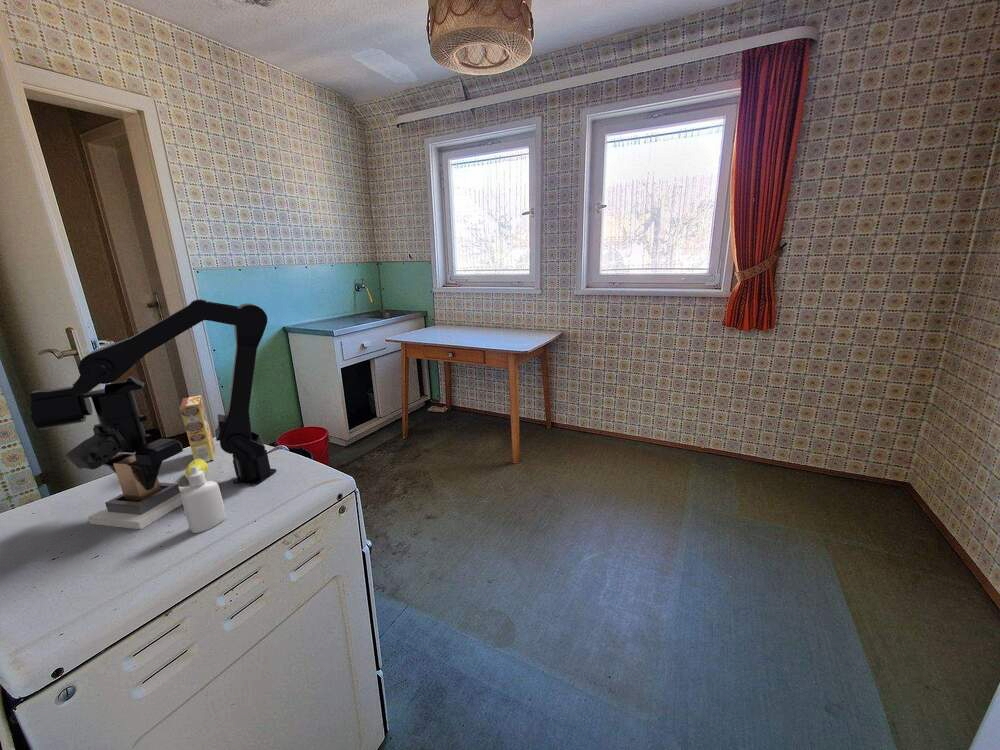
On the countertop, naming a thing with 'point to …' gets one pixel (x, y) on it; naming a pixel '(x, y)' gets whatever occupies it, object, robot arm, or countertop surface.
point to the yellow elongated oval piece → (199, 464)
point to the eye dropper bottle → (202, 502)
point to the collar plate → (139, 508)
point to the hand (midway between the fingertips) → (141, 488)
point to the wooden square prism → (133, 481)
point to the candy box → (197, 428)
